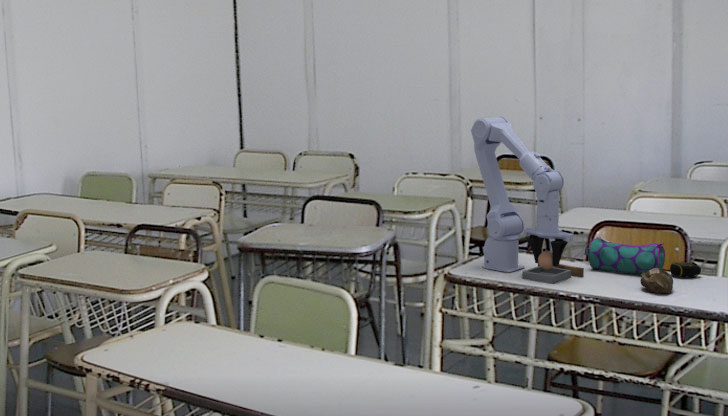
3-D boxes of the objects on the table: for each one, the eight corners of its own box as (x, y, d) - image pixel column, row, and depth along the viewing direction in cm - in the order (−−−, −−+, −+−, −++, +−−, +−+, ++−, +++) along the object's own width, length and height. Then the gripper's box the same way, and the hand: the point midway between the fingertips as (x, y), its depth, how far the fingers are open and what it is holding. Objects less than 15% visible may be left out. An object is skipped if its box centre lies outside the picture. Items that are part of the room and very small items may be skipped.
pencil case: (583, 271, 238) (584, 238, 237) (594, 265, 245) (595, 233, 244) (658, 280, 227) (659, 245, 225) (667, 273, 234) (668, 240, 232)
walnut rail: (537, 270, 240) (537, 261, 240) (539, 269, 241) (540, 260, 241) (581, 277, 230) (581, 268, 230) (583, 276, 231) (583, 267, 231)
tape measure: (702, 277, 229) (702, 264, 228) (684, 281, 225) (685, 267, 225) (681, 272, 235) (682, 259, 234) (664, 276, 231) (665, 262, 231)
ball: (534, 269, 230) (534, 251, 230) (544, 266, 234) (545, 248, 233) (549, 272, 227) (549, 254, 226) (559, 269, 230) (560, 251, 229)
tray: (522, 278, 231) (522, 271, 230) (541, 272, 237) (541, 265, 237) (552, 284, 224) (552, 276, 224) (571, 277, 231) (571, 270, 230)
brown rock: (635, 276, 221) (637, 291, 212) (650, 256, 219) (652, 271, 210) (660, 291, 221) (663, 307, 212) (675, 271, 218) (679, 287, 209)
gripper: (517, 214, 230) (516, 262, 232) (563, 220, 220) (562, 270, 222) (531, 211, 235) (530, 258, 237) (577, 216, 225) (576, 265, 227)
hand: (547, 264), depth 230 cm, fingers closed on ball, 5 cm apart
